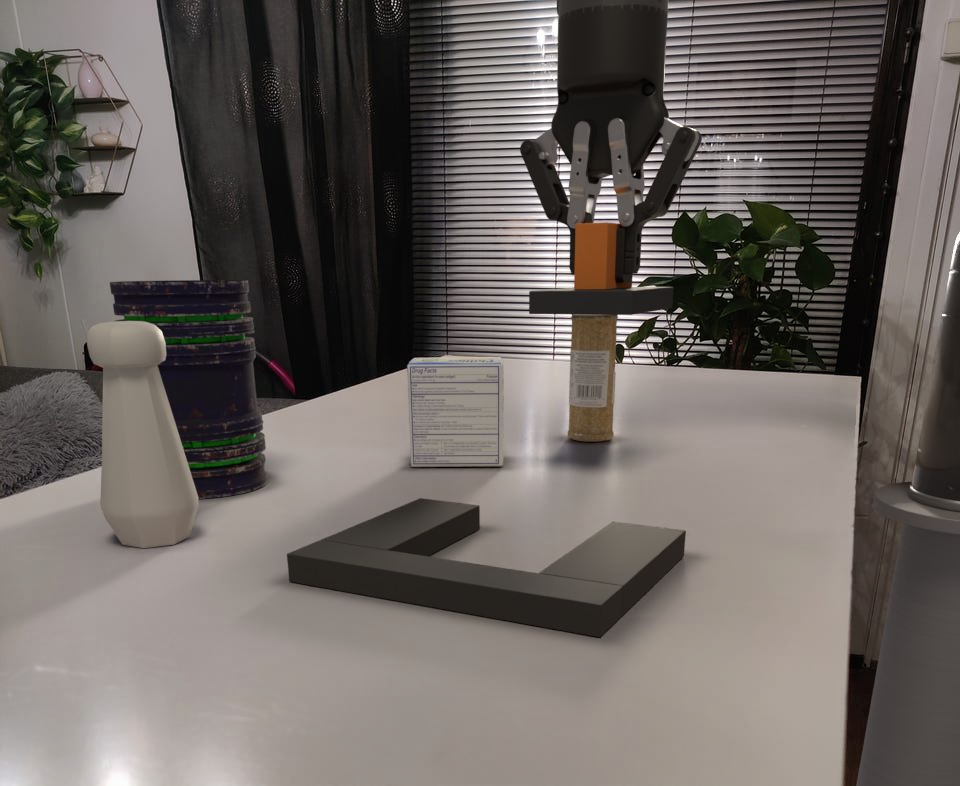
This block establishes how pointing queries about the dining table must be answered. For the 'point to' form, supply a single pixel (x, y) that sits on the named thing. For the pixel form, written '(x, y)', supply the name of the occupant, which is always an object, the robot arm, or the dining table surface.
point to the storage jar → (206, 376)
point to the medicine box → (456, 411)
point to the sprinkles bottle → (592, 377)
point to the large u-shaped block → (489, 568)
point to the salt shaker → (140, 439)
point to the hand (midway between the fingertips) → (603, 281)
